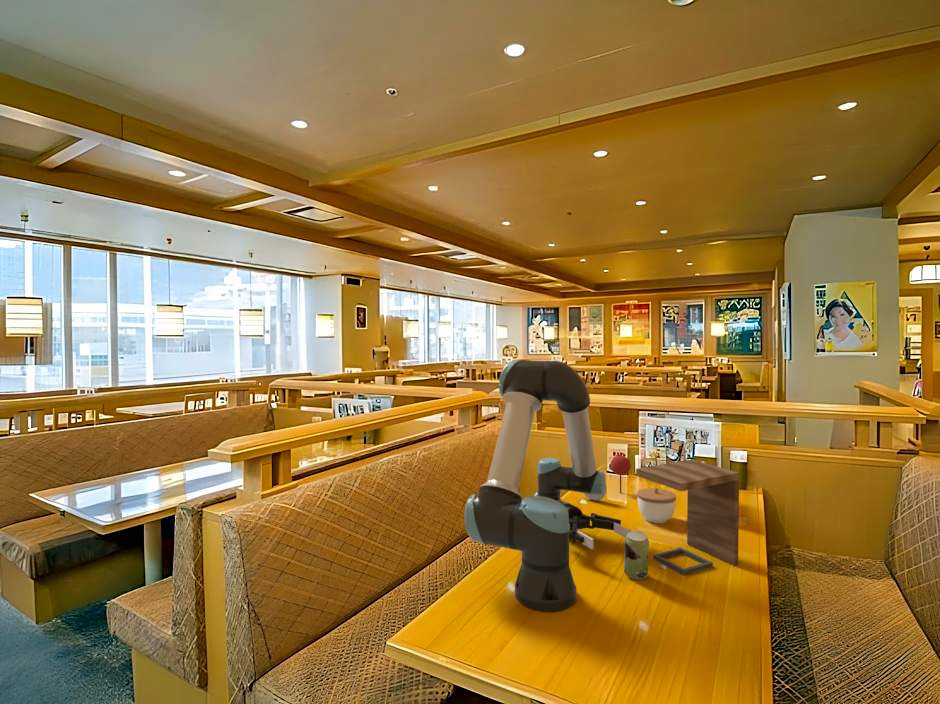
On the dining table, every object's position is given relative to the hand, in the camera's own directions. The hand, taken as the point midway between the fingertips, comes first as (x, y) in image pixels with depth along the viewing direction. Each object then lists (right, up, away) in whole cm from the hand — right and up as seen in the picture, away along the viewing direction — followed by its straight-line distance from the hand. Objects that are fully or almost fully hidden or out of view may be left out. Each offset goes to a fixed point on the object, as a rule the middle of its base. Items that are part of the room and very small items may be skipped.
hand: (612, 539), depth 143 cm
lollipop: (+20, -4, +61) cm, 65 cm away
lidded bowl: (+24, -5, +32) cm, 41 cm away
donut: (+8, -4, +53) cm, 53 cm away
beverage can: (+4, -7, -8) cm, 12 cm away
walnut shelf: (+21, -6, 0) cm, 22 cm away
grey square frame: (+20, -6, 0) cm, 21 cm away
